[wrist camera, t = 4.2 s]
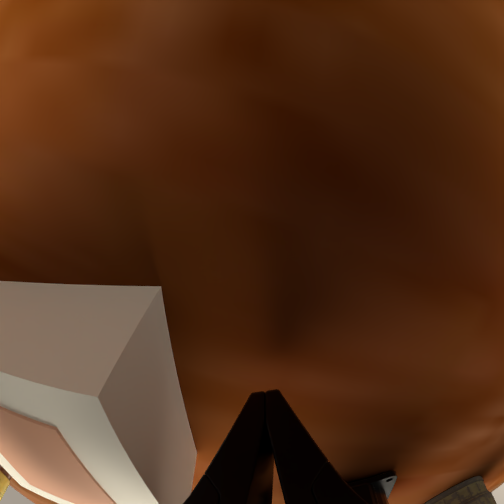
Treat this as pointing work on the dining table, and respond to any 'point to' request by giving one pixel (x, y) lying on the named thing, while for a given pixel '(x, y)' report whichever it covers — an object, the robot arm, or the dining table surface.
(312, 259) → the dining table surface
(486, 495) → the thermos
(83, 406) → the carton
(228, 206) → the dining table surface
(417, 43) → the dining table surface
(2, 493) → the sauce bottle
